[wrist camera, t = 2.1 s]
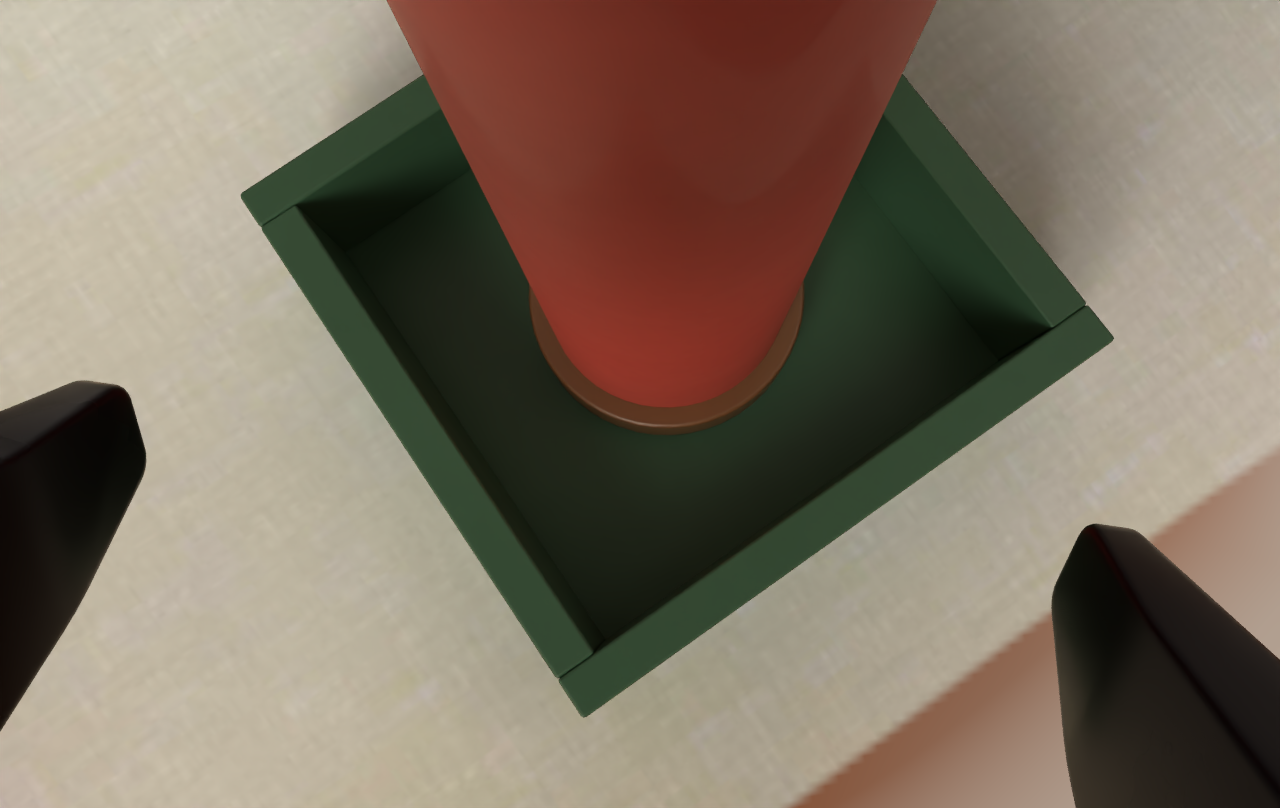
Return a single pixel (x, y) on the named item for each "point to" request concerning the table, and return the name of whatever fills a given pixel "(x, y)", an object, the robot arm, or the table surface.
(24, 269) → the table surface
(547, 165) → the skittle
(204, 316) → the table surface
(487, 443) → the bin
